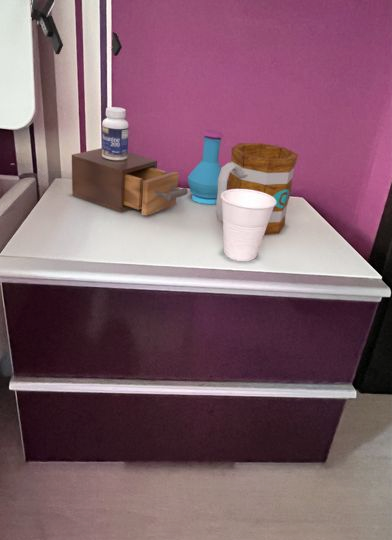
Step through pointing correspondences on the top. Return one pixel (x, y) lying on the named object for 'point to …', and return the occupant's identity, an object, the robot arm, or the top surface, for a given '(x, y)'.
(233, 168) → the mug
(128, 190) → the drawer
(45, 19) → the robot arm
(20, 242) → the top surface
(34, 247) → the top surface
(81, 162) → the cabinet
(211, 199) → the perfume bottle
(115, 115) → the pill bottle
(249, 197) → the cup
